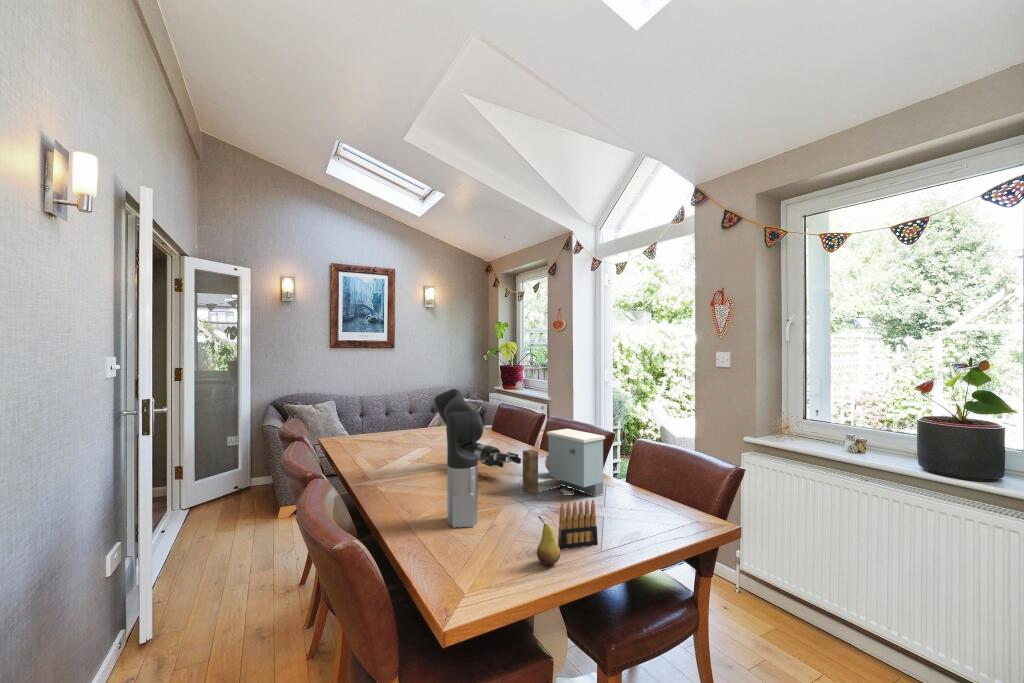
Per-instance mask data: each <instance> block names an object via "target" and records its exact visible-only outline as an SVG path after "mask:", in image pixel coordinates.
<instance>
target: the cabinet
mask: <svg viewBox="0 0 1024 683" xmlns="http://www.w3.org/2000/svg"><path fill="white" fill-rule="evenodd" d="M546 435H547V436H548V455H549V471H548V477H552V478H553V479H555V478H556V479H559V480H561V484H562V485H565V486H569V487H572V488H574V489H577V490H581V491H584V492H586V493H589V494H592V495H595V496H597V495H600V494H603V495H604V440H605V439H606V436H605V435H602V434H597V433H591V432H587V431H581V430H577V429H571V428H563V429H556V430H550V431H546ZM562 485H561V486H562ZM565 486H564V487H565ZM577 490H576V491H577ZM586 493H585V494H586ZM589 494H588V495H589ZM592 495H591V496H592ZM595 496H594V497H595ZM600 496H601V495H600ZM597 497H598V496H597Z"/></svg>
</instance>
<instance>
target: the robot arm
mask: <svg viewBox="0 0 1024 683" xmlns="http://www.w3.org/2000/svg"><path fill="white" fill-rule="evenodd" d="M433 402H434V406H435V408H436V411H437V413H438V415H439V416H440V418H441V420H442V421H443V422H444V425H445V427H446V428H445V429H446V444H447V446H446V448H447V452H446V453H447V457H446V458H447V461H446V462H447V465H446V466H447V468H446V471H447V472H446V475H447V477H446V487H447V488H446V493H447V494H446V496H447V497H446V503H447V504H446V510H447V512H446V513H447V514H446V516H447V517H446V518H447V520H446V521H447V525H449V526H451V528H453V529H455V528H456V527H457V528H471V527H474V525H476V524H478V522H479V521H478V520H479V518H478V516H479V513H478V512H479V506H478V505H479V503H478V502H479V501H478V498H479V496H478V492H479V489H478V487H479V485H478V484H479V483H478V482H479V478H478V477H479V476H478V473H479V472H478V471H479V465H478V464H479V463H481V464H483V465H485V466H487V467H499V468H503V467H504V464H509V463H515V464H518V465H519V464H521V463H522V458H521V457H520V456H519V454H518V453H514V452H509V451H508V452H507V453H504V452H501V451H500V450H501V449H499V448H497V447H496V446H492V445H488V444H484V443H481V442H478V441H479V440H481V438H482V437H483V434H484V423H483V419H482V416H481V415H480V413H479V412H477V411H476V410H473V409H472V408H471V406H470V405H469V403H468V402H467V401H466V400H465V399H464V397H463V394H462V392H461V391H460V390H458V389H457V388H451V389H449V390H447V391H445V392H443V393H442V392H441V394H438V395H436V396H435V397H434V399H433Z"/></svg>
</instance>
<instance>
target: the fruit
mask: <svg viewBox="0 0 1024 683" xmlns="http://www.w3.org/2000/svg"><path fill="white" fill-rule="evenodd" d="M537 518H539V519H540V520H541V522H542V523H543V527H542V531H541V532H542V533H541V539H540V542H539V544H538V546H537V549H536V556H537V559H538V561H539V562H540V564H543V565H545V566H553V565H555V564H557V562H558V561H559V560H560V558H561V549H560V548H559V546H558V542H557V541H556V537H555V534H554V530H553V528H552V527H551V525H549V524H548V523H546V522H545V521H544V520H543V519H542V517H541V516H540V515H538V517H537Z"/></svg>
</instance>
